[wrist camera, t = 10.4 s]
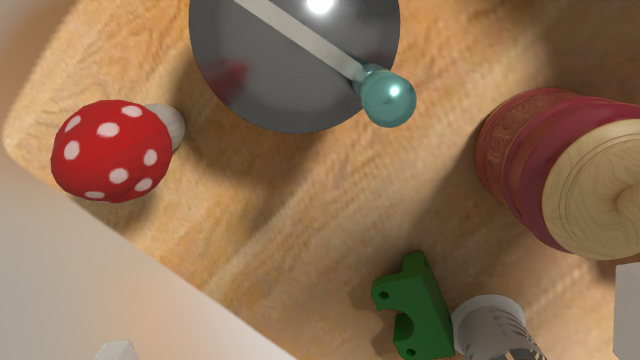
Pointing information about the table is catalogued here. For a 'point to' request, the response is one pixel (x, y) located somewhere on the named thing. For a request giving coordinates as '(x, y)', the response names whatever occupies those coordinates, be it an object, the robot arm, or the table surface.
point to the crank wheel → (302, 61)
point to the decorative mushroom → (115, 149)
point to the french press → (492, 330)
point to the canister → (566, 169)
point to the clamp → (416, 310)
